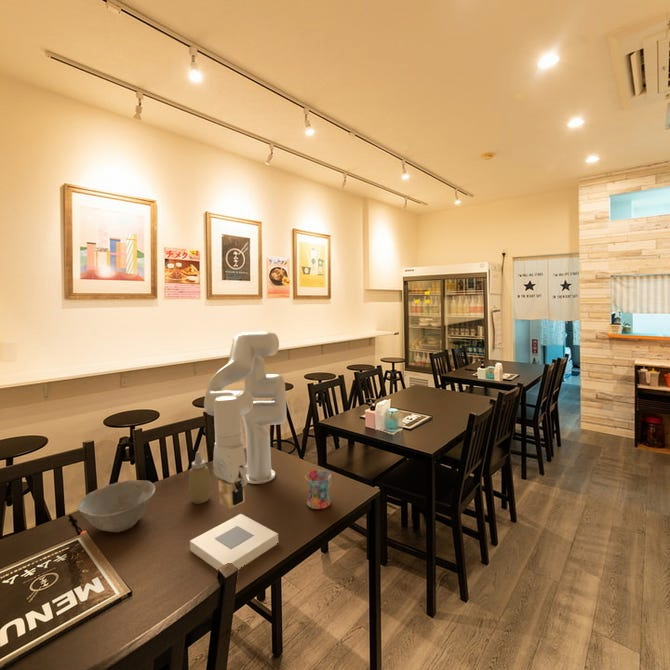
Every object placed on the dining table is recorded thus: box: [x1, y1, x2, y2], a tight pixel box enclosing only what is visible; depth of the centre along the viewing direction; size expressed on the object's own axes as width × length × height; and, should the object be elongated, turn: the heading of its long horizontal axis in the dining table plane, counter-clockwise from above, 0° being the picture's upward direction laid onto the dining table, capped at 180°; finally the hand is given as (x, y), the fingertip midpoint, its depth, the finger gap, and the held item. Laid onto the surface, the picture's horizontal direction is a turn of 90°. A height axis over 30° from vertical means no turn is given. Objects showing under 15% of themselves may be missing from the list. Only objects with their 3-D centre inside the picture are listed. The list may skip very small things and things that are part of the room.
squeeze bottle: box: [188, 451, 213, 505], centre depth 142 cm, size 8×8×18 cm
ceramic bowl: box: [77, 479, 156, 533], centre depth 128 cm, size 22×23×10 cm
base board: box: [189, 513, 279, 571], centre depth 115 cm, size 18×18×3 cm
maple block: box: [218, 479, 246, 510], centre depth 113 cm, size 5×5×7 cm
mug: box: [304, 469, 335, 510], centre depth 138 cm, size 12×9×11 cm
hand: (232, 499), depth 114 cm, fingers closed on maple block, 5 cm apart
